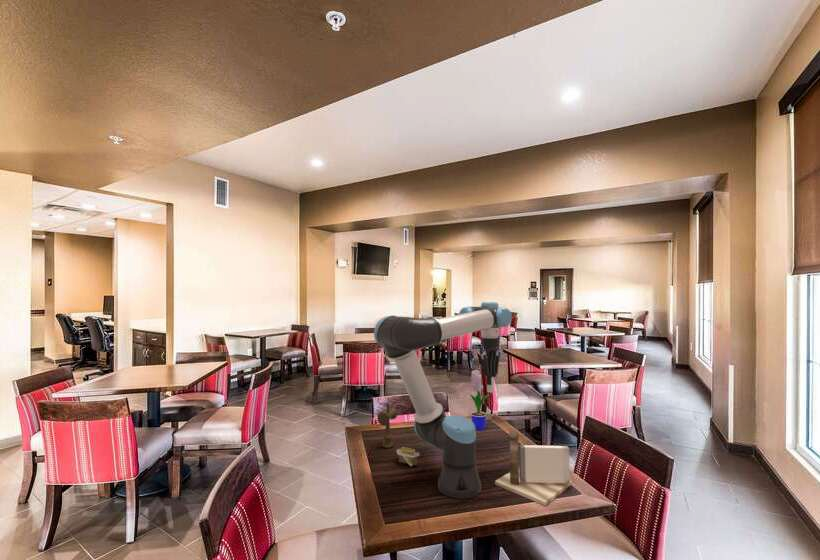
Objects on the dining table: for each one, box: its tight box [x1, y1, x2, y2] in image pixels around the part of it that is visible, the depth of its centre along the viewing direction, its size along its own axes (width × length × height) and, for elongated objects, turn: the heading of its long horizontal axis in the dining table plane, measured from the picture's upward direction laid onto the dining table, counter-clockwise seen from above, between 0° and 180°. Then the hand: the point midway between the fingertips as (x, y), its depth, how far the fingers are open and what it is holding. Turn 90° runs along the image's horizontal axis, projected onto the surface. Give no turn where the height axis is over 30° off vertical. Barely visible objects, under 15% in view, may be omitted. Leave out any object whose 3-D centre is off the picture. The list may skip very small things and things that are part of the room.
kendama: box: [376, 401, 398, 449], centre depth 166 cm, size 6×10×20 cm, turn 156°
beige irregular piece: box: [396, 446, 420, 467], centre depth 148 cm, size 12×18×7 cm, turn 65°
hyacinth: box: [469, 369, 490, 431], centre depth 190 cm, size 9×10×30 cm
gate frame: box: [494, 430, 573, 507], centre depth 132 cm, size 20×19×19 cm
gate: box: [518, 444, 571, 483], centre depth 130 cm, size 17×2×12 cm, turn 87°
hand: (490, 391), depth 159 cm, fingers closed
